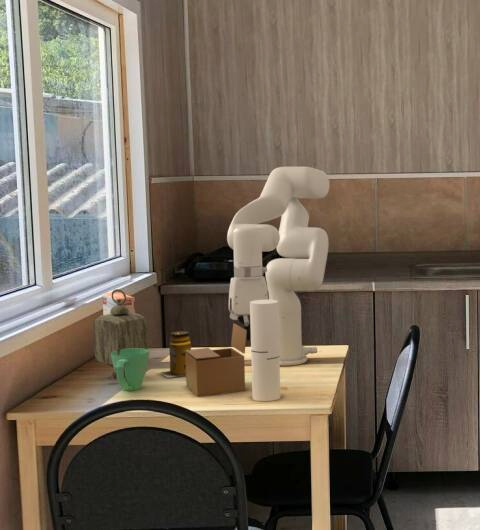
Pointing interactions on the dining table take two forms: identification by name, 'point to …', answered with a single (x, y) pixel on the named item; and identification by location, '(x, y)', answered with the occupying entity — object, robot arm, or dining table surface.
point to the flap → (239, 338)
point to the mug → (130, 367)
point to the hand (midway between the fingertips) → (249, 339)
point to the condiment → (178, 354)
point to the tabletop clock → (118, 332)
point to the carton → (214, 371)
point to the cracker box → (109, 303)
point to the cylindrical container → (265, 350)
